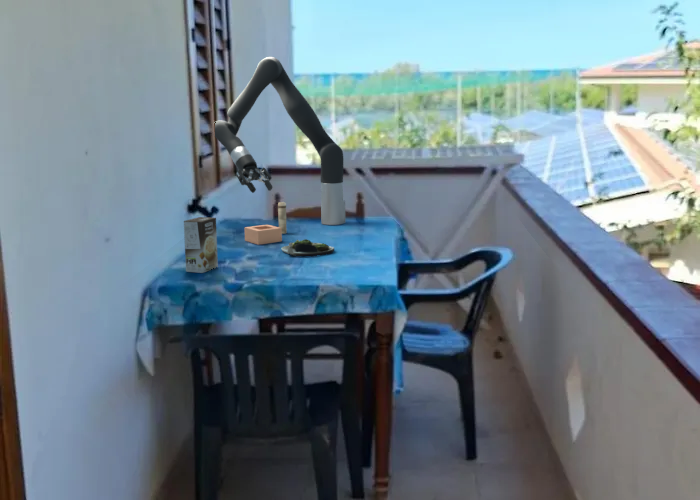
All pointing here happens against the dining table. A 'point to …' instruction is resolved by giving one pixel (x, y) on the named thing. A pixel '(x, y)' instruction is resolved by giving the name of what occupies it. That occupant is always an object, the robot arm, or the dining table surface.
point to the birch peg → (282, 216)
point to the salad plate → (307, 248)
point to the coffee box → (200, 244)
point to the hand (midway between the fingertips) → (262, 190)
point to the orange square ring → (263, 234)
